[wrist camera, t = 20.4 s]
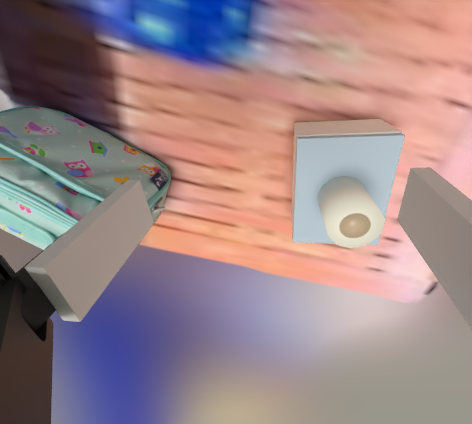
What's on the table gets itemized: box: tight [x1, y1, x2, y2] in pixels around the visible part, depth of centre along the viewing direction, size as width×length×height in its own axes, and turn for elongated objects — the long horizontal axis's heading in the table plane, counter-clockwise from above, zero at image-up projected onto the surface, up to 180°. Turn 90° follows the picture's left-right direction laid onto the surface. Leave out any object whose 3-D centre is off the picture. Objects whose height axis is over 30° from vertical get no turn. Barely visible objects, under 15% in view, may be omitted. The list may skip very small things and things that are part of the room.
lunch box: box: [0, 106, 171, 250], centre depth 38 cm, size 27×10×21 cm, turn 63°
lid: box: [293, 133, 405, 245], centre depth 35 cm, size 16×12×1 cm
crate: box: [291, 119, 402, 236], centre depth 38 cm, size 16×12×8 cm
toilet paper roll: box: [318, 176, 385, 248], centre depth 31 cm, size 6×6×7 cm
